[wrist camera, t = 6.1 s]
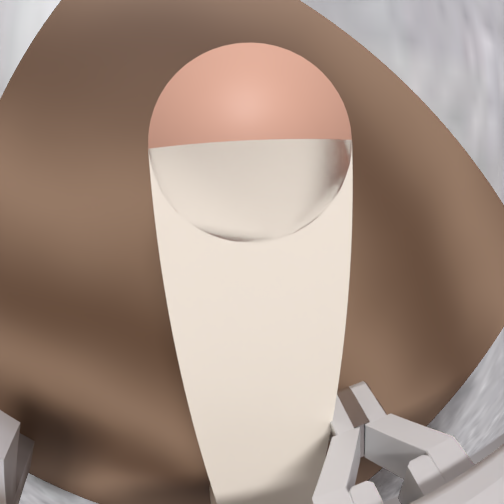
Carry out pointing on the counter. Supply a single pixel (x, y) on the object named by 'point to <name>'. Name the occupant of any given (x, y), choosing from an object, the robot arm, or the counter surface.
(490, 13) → the counter surface
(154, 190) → the link
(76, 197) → the pivot base
